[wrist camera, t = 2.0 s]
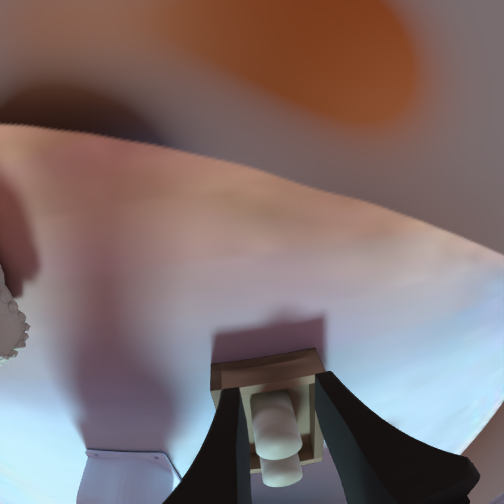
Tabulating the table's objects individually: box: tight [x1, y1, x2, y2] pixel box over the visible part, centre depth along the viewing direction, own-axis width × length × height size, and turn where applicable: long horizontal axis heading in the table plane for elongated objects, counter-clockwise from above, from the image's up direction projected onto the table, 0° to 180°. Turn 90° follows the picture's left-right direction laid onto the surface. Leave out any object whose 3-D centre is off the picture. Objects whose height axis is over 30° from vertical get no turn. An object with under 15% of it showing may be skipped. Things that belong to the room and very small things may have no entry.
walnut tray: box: [210, 348, 326, 487], centre depth 22 cm, size 8×12×6 cm, turn 7°
